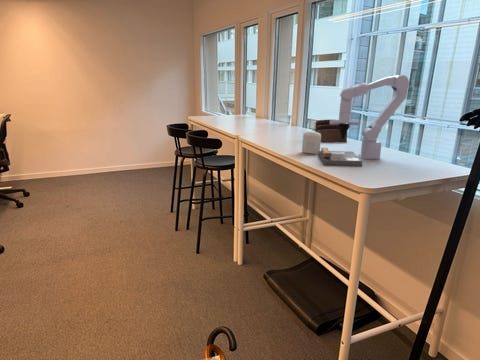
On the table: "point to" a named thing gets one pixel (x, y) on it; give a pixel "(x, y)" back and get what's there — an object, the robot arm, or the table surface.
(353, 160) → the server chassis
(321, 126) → the letter holder
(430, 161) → the table surface
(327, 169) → the table surface
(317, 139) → the photo printer
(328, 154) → the tan grey headed bar
